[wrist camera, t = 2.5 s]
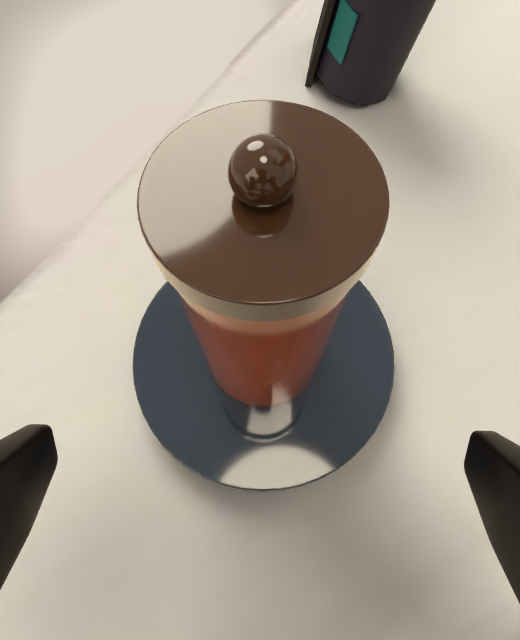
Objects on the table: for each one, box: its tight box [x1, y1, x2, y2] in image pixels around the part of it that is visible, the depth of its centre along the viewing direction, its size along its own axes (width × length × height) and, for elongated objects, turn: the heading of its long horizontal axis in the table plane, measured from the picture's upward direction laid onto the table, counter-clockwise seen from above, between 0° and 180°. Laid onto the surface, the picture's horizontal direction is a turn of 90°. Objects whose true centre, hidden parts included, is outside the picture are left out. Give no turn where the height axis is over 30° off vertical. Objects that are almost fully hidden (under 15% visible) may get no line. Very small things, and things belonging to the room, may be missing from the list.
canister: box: [137, 100, 389, 407], centre depth 15 cm, size 6×6×13 cm
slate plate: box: [133, 280, 394, 491], centre depth 22 cm, size 13×13×1 cm
